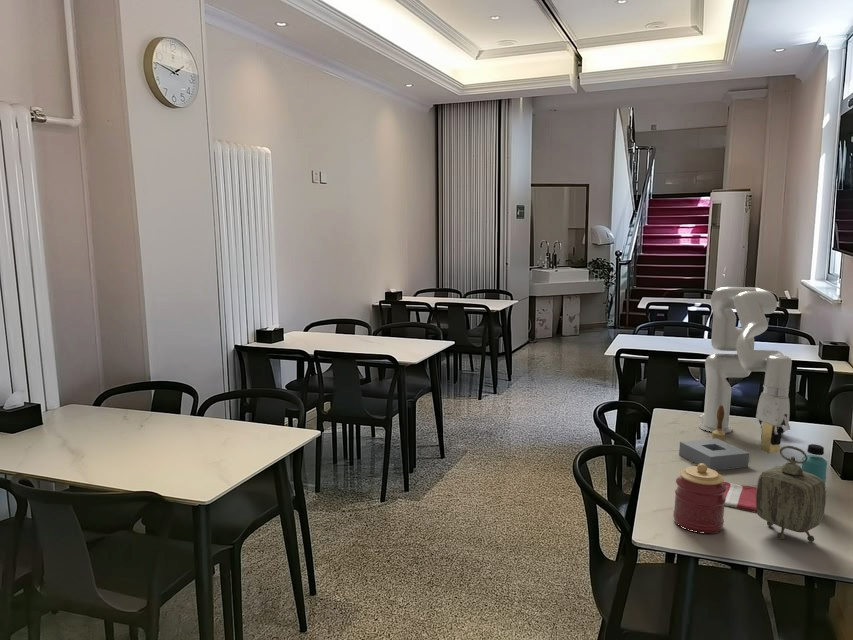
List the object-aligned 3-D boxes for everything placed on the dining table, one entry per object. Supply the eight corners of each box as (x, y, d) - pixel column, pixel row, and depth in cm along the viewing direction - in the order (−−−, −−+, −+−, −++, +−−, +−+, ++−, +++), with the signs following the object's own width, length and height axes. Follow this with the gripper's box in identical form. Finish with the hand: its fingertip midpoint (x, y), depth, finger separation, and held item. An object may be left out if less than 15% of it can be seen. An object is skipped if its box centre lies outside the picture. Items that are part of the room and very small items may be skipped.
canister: (729, 537, 171) (734, 474, 168) (678, 532, 173) (682, 470, 170) (716, 516, 183) (721, 457, 181) (668, 512, 186) (672, 453, 183)
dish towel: (691, 480, 211) (691, 473, 210) (771, 496, 199) (772, 488, 198) (682, 498, 196) (682, 490, 196) (768, 517, 184) (769, 508, 184)
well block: (679, 454, 233) (680, 441, 232) (715, 451, 237) (716, 438, 237) (709, 470, 218) (710, 456, 217) (748, 466, 222) (749, 453, 222)
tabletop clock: (821, 542, 168) (831, 451, 165) (805, 552, 163) (814, 458, 160) (766, 522, 180) (774, 436, 176) (749, 530, 175) (757, 442, 171)
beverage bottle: (822, 518, 183) (830, 451, 180) (796, 512, 186) (802, 446, 184) (823, 509, 188) (830, 444, 186) (797, 504, 192) (803, 440, 189)
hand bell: (734, 447, 243) (737, 406, 240) (721, 451, 238) (725, 409, 236) (713, 441, 249) (716, 401, 247) (701, 444, 245) (704, 404, 242)
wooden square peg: (760, 449, 223) (763, 416, 221) (769, 448, 224) (773, 415, 223) (769, 453, 220) (772, 419, 218) (778, 452, 221) (782, 419, 219)
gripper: (748, 385, 225) (743, 435, 228) (786, 398, 210) (780, 451, 213) (765, 384, 227) (760, 433, 230) (805, 397, 212) (799, 449, 215)
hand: (770, 441), depth 221 cm, fingers closed on wooden square peg, 4 cm apart
